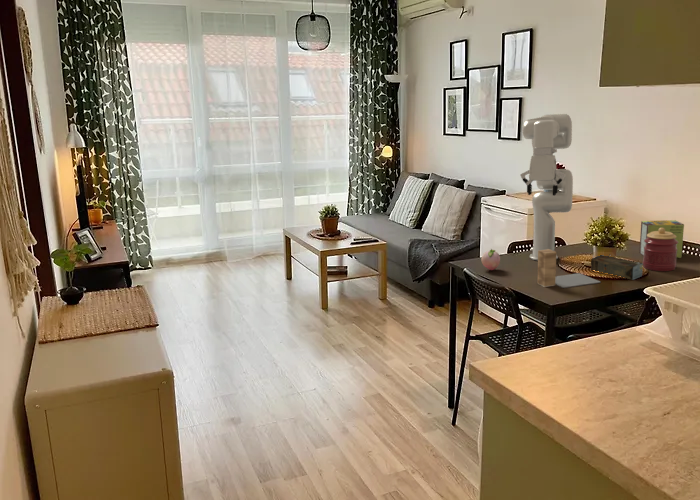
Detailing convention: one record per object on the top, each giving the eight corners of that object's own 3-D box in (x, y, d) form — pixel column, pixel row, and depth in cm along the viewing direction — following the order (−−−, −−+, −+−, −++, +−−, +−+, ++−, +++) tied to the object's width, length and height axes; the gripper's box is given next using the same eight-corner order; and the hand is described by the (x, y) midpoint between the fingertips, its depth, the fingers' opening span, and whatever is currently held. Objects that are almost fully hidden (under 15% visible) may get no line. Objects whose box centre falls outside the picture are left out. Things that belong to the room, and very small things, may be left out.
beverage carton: (632, 280, 239) (633, 265, 238) (589, 272, 255) (590, 257, 253) (642, 276, 244) (643, 261, 242) (599, 268, 259) (600, 253, 258)
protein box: (682, 257, 267) (684, 224, 264) (645, 258, 270) (648, 225, 266) (673, 252, 277) (676, 219, 274) (638, 252, 280) (640, 220, 276)
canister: (677, 272, 246) (680, 231, 242) (642, 270, 251) (645, 230, 247) (675, 264, 257) (678, 225, 253) (642, 262, 263) (644, 224, 259)
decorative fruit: (481, 267, 269) (481, 246, 267) (500, 267, 267) (500, 246, 265) (480, 273, 260) (480, 251, 258) (500, 273, 258) (500, 251, 256)
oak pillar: (537, 283, 242) (538, 250, 238) (548, 282, 243) (549, 249, 240) (544, 286, 237) (545, 253, 234) (555, 285, 238) (556, 251, 235)
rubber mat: (542, 279, 247) (543, 278, 247) (579, 274, 251) (579, 273, 251) (563, 288, 234) (563, 287, 234) (600, 282, 238) (600, 281, 238)
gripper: (567, 151, 234) (565, 194, 238) (523, 152, 242) (522, 193, 246) (564, 152, 228) (562, 196, 231) (518, 153, 236) (518, 195, 240)
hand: (541, 194), depth 239 cm, fingers open, 9 cm apart
